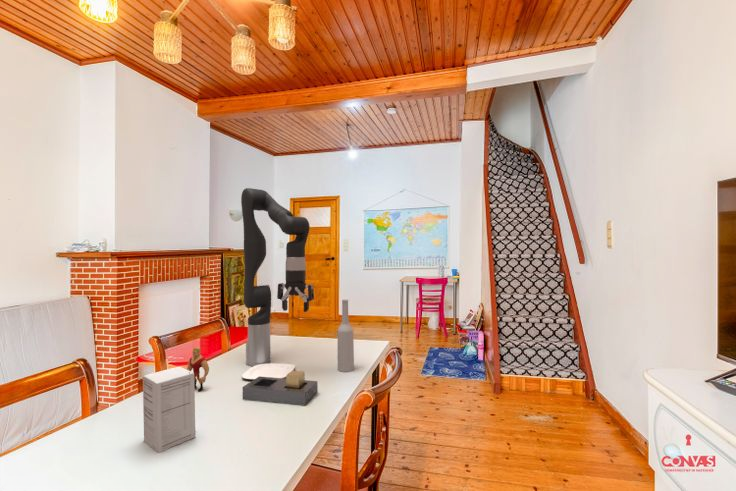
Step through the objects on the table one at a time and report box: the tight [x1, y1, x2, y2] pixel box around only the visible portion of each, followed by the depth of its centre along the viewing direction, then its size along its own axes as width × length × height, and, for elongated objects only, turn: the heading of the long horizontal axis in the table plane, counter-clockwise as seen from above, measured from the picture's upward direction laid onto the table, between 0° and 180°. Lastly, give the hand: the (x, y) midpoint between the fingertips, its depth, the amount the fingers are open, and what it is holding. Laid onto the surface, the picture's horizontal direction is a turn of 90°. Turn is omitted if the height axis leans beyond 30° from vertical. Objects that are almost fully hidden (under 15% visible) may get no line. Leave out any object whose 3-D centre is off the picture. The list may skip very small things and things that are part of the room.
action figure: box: [186, 346, 210, 392], centre depth 125 cm, size 10×4×15 cm, turn 70°
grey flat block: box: [241, 376, 319, 407], centre depth 118 cm, size 22×10×4 cm, turn 76°
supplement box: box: [142, 366, 196, 453], centre depth 92 cm, size 10×9×17 cm
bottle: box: [337, 299, 355, 373], centre depth 144 cm, size 7×7×28 cm
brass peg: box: [285, 370, 306, 389], centre depth 117 cm, size 4×4×8 cm
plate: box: [241, 362, 296, 381], centre depth 140 cm, size 18×18×2 cm
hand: (295, 311), depth 137 cm, fingers open, 8 cm apart
